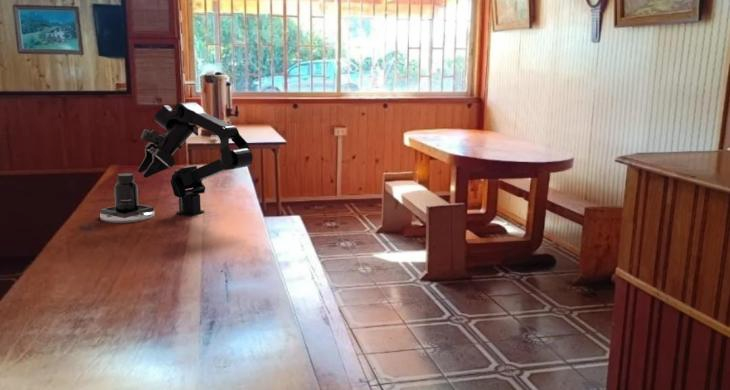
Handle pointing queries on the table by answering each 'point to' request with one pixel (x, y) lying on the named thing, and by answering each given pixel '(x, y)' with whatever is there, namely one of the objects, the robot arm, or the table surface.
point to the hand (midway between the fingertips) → (141, 174)
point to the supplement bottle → (126, 193)
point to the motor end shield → (126, 215)
